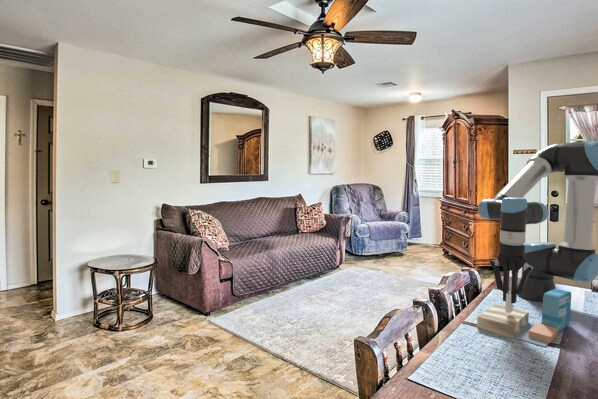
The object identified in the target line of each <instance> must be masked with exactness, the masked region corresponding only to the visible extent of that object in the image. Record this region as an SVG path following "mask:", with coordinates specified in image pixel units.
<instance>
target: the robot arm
mask: <svg viewBox="0 0 598 399" xmlns="http://www.w3.org/2000/svg"><path fill="white" fill-rule="evenodd" d="M558 172H559V173H564V177H565V178H566V179H567V181H568V184H567V195H566V208H565V217H564V219H565V221H564V230H563V231H564V233H563V234H564V235H563V240H562V241H561V242H560V243H559V244H558V247H557V244H556V243H554V242H551V241H550V242H548V241H546V242H545V241H543V242H540V241H538V242H536V241H535V242H534V241H533V242H526V235H527V234H526V232H527V231H526V230H527V229H526V228H527V225H537V224H539V223H540V224H541V223H543V222H545V221H546V220H547V219H548V217H549V209H548V207H547V205H545V204H544V203H543V202H541V201H540V202H538V201H529V202H528V200H527V199H526V198H525V196H526V195H527V194H528V193H529V192H530V191H531V190H532V189H533V188H534V187H535V186H536V185H537V184H538V183H539V182H540V181H541V180H542V179H543V178H546V177H549V175H551V174H552V173H558ZM597 182H598V141H597V140H593V141H592V140H586V141H577V142H576V141H574V142H559V143H554V144H551V145H548V146H546V147H544V148H543V149H541V150H539V151H537V152H536V153H534V154H533V155H532V156H531V157H530V158H529V159H528V160H527V161H526V163H525V166H524V167H523V168H522V169H521V170H519V172H518V173H517V174H516V175H515V176H514V177H513V178H512V179H511V180H510V181H509V182H508V183H507V184H505V186H503V188H502V189H501V190H500V191H499V192H498V193H496V194H495V196H494V197H493V198H491V199H490V198H488V199H486V198H485V199H482V200H481V201H480V202H479V204H478V207H477V211H478V214H479V216H480V217H481V218H483V219H487V220H493V221H500V224H499V226H500V227H499V228H500V229H499V241H500V243H499V245H498V248H499V250H498V256H497V258H496V259H492V260H491V261H490V262H489V264H490V265H491V267H492V269H493V275H494V279H495V284H496V289H497V290H500V291H501V292H502V302H505V306H506V310H505V312H508V313H511V312H512V311H513V308H514V304H516V302H517V298H518V297H517V296H519V297H521V298H524V299H527V300H530V301H536V302H542V303H543V296H544V294H545V293H546V292H548V291H551V290H553V289H557V287H556V284H555V277H557V278H562V279H567V280H570V281H574V282H575V283H577V282H578V283H579V282H580V283H586V284H587V283H591V282H594V280H595V279H596V278H597V277H598V253H596V247H595V246H594V245H593V244H592V235H593V234H592V232H593V223H594V209H595V202H596V201H595V199H596V198H595V197H596V189H597V188H596V187H597ZM499 265H500V266H501V267H502V270H503V271H502V274H501V269H500V266H499ZM520 270H521V277H520V279H519V271H520ZM510 272H511V289H510ZM502 275H503V278H502ZM502 279H503V280H502ZM518 280H519V281H518Z"/></svg>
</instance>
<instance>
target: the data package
mask: <svg viewBox="0 0 598 399" xmlns="http://www.w3.org/2000/svg"><path fill="white" fill-rule="evenodd" d="M571 303H572V292H571V291H570V290H564V289H559V288H556V289H553V290H551V291H548V292H546V293H545V294H544V296H543V302H542V309H541V324H543V325H547V326H551V327H554V328H558V331H559V332H560V331H561V330H563V329H564V328H567V327H568V326H569V325H570V320H571V319H570V318H571V307H572V306H571V305H572V304H571Z"/></svg>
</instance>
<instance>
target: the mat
mask: <svg viewBox="0 0 598 399" xmlns="http://www.w3.org/2000/svg"><path fill="white" fill-rule="evenodd" d="M535 324H536V323H533V322H529V321H528V323H527V324H526V325H525V326H524V327H523V328H522V329H521V330H520V331H519V332H518V333H516V334H515V335H514V336H513V338H512V339H515V340H519V341H522V342H525V343H529V344H533V345H536V346H540V347H543V348H547V346H548V345H549V344H550V343H548V342H545V341H541V340H538V339H534V338H531V337H528V335H529V330H530V329H531V328H532V327H533V326H534V325H535ZM559 332H560V331H558V333H559Z"/></svg>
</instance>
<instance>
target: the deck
mask: <svg viewBox="0 0 598 399" xmlns="http://www.w3.org/2000/svg"><path fill="white" fill-rule="evenodd" d="M505 310H506V305H501V304H497V303H495V304H493V305H492V306H490V307H488V309H485V311H483V312H482V313H480V314H479V315H477V322H476V328H478V329H481V330H484V331H487V332H488V331H489V332H492V333H495V334H498V335H502V336H505V337H508V338H512V339H514V338H513V336H514V335H515V334H516V333H518V332H519V331H520V330H521V329H522V328H523V327H524V326H525V325H526V324H527V323H528V322H529V319H530V318H529V315H530V312H529V311H526V310H523V309H518V308H514V307H513V311H512V312H511V313H508V312H505Z"/></svg>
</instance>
